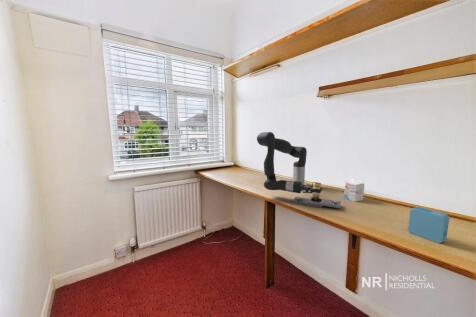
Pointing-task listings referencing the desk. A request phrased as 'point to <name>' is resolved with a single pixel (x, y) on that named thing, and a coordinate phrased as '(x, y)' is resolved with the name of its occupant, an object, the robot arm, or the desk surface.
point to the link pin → (316, 195)
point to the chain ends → (317, 204)
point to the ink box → (354, 190)
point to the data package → (428, 224)
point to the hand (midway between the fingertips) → (321, 190)
